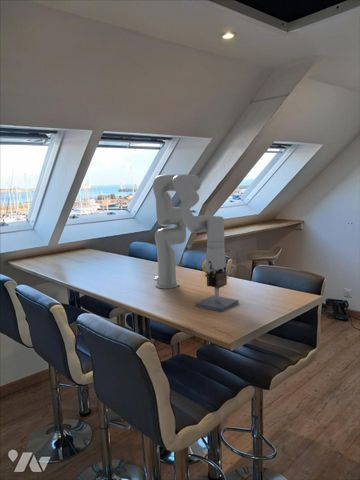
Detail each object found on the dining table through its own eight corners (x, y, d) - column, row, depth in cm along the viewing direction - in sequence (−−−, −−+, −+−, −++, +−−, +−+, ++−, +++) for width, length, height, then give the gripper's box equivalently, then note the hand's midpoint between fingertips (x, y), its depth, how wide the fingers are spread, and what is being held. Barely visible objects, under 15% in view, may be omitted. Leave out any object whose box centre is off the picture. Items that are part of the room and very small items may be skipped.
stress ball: (220, 276, 222) (220, 263, 228) (215, 266, 215) (216, 253, 221) (204, 278, 225) (204, 265, 231) (199, 268, 218) (200, 255, 224)
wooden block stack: (206, 286, 165) (206, 273, 164) (214, 282, 170) (214, 270, 169) (219, 288, 161) (218, 274, 160) (226, 284, 166) (226, 271, 165)
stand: (195, 306, 165) (194, 288, 164) (212, 298, 176) (212, 281, 175) (222, 312, 157) (221, 292, 156) (238, 303, 168) (238, 285, 167)
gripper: (219, 241, 172) (219, 278, 174) (197, 246, 158) (198, 287, 161) (233, 242, 167) (233, 280, 170) (212, 248, 154) (213, 289, 156)
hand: (216, 283), depth 165 cm, fingers closed on wooden block stack, 6 cm apart
